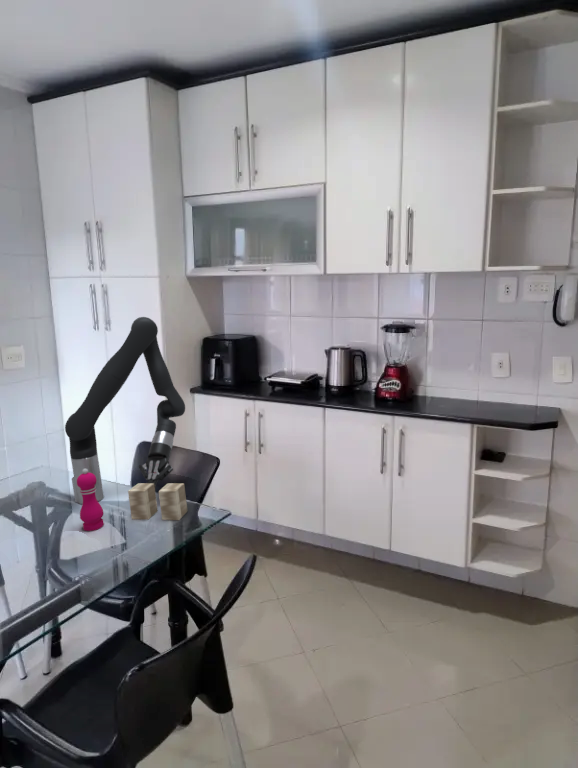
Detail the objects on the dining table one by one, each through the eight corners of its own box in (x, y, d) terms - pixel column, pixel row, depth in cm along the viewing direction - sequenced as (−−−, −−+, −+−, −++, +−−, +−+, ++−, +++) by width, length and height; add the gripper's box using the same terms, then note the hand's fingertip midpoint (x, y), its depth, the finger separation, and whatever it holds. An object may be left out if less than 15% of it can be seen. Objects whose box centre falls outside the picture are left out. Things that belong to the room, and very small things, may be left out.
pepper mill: (80, 533, 168) (71, 474, 165) (83, 524, 175) (74, 467, 172) (104, 529, 170) (95, 470, 166) (105, 520, 177) (97, 463, 173)
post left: (131, 519, 176) (127, 491, 174) (141, 510, 183) (138, 483, 181) (148, 519, 175) (144, 491, 173) (157, 510, 181) (154, 483, 180)
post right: (162, 519, 174) (158, 491, 172) (171, 511, 180) (167, 483, 178) (179, 520, 172) (175, 491, 170) (187, 511, 179) (184, 483, 177)
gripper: (140, 441, 191) (127, 486, 181) (174, 441, 188) (163, 486, 178) (149, 451, 197) (137, 494, 187) (181, 451, 194) (171, 495, 184)
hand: (150, 490), depth 183 cm, fingers closed
